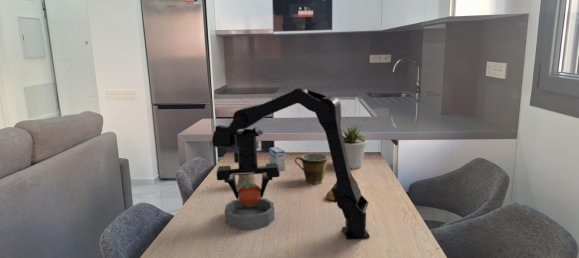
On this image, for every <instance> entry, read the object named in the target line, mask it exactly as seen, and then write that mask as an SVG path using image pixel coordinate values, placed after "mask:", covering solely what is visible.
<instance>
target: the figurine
mask: <svg viewBox="0 0 579 258" xmlns="http://www.w3.org/2000/svg"><path fill="white" fill-rule="evenodd" d="M237 169H239V167H238V168H237ZM247 180H249V181H250V182H253V183H254V184H256V185H257V184H258V183H257V177H256V174H248V175H238V180H237V189H239V188H240V187H241V186H242V185H243V184H245V183H247Z"/></svg>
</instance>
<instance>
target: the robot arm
mask: <svg viewBox="0 0 579 258" xmlns="http://www.w3.org/2000/svg"><path fill="white" fill-rule="evenodd" d="M296 104H299V105H301V106H302V107H304V108H305V109H307V110H309V112H313V113H315V116H316V118H317V120H318V123H319V124H320V126H321V127H322V129H323V130H324V132H325V135H326V141H327V145H328V148H329V153H330V156H331V161H332V165H333V169H334V170H333V171H334V173H335V178H336V181H335V183H334V185H333V186H332V188H331V189H332V192H333V195H334V199H335V200H333V201H334V202H333V203H334V204H335V203H336V205H337V207H338V208H339V210H341V211H342V215H343V216H344V219H345V226H343V227H341V229H342V232H343V233H344V234H343V235H344V236H345V238H346V239H347V240H353V239H355V240H356V239H367V238H370V234H369V232H368V231H367V212H366V211H367V209H368V206H369V201H368V200H367V199H366V198H365V197H364V196H363V195H362V193H361V190H360V188H359V184H358V182H357V181H356V179H355V178H354V175H352V169H350V166H349V162H348V157H347V153H346V149H345V144H344V140H343V130H342V126H341V123H342V121H341V120H342V107H341V106H342V105H341V101H340V100H339V98H338V97H335V96H333V95H325V94H323V93H320V92H316V91H313V90H310V89H307V88H306V87H304V86H303V87H302V86H301V87H300V86H299V87H298V88H295V89H293V90H292V91H290V92H288V93H286V94H283V95H281V96H278V97H276V98H274V99H271V100H269V101H266V102H264V103H262V104H261V103H260V104H255V105H250V106H246V107H244V108H241V109H238V110H236V111H234V113H233V117H232V121H231V122H230V124H229V125H221V124H220V125H218V124H217V125H216V126H214V128H215V129H214V132H213V134H212V138H211V142H212V145H213V146H214V147H215V148H221V149H235V147H237V152H233V159H234V163H235V164H238V168H239V169H238V168H231V165H219V166H218V167H217V169H216V180H217V181H223V182H224V183H227V184H228V185H229V187H230V188H231V190H232V192H233V195H234V196H235V198H236V199H235V200H237V199H239V198H238V185H237V181H236V176H239V175H248V174H255V175H261V185H260V188H261V198H264V193H265V191H266V188H267V186H268V184H269V182H270V181H272V180H273V178H279V177H280V175H281V174H280V171H279V166H278V164H277V163H272V164H270V163H265V167H264V166H263V167H262V166H261V167H258V148H257V137H260V136H261V135H262V134H264V132H263V131H262V130H261V129H260V128H259V127H258V126H255V127H254V128H253V127H252V128H249V127H251V126H254V125H256V124H258V123H259V122H260V121H261V120H262V121H263V119H264V118H265V117H267V116H270V115H272V114H274V113H277V112H279V111H281V110H284V109H287V108H289V107H291V106H293V105H296ZM240 130H241V131H240Z"/></svg>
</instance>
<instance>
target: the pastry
mask: <svg viewBox="0 0 579 258" xmlns="http://www.w3.org/2000/svg"><path fill="white" fill-rule="evenodd" d="M326 199H327V200H329V201H330V200H331V201H334V200H335V199H334V195H333V192H332V188H330V190H329V191H328V192H327V193H326Z"/></svg>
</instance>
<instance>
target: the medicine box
mask: <svg viewBox="0 0 579 258" xmlns="http://www.w3.org/2000/svg"><path fill="white" fill-rule="evenodd" d="M268 149H269V150H268V153H269V155H268V156H269V159H268V160H269V164H272V163H277V164H278V166H279V172H282V171H283V172H284V171H286V151H285V150H284V149H282V148H280V147H278V146H275V147H274V146H273V147H269V148H268Z"/></svg>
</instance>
